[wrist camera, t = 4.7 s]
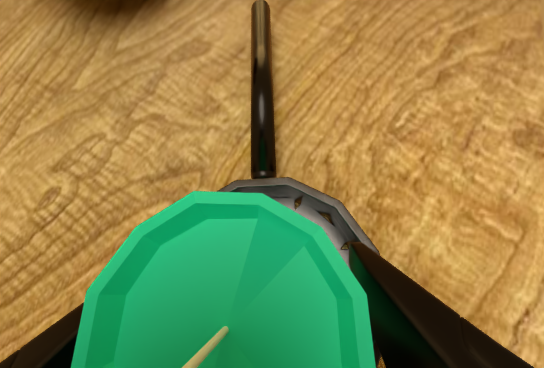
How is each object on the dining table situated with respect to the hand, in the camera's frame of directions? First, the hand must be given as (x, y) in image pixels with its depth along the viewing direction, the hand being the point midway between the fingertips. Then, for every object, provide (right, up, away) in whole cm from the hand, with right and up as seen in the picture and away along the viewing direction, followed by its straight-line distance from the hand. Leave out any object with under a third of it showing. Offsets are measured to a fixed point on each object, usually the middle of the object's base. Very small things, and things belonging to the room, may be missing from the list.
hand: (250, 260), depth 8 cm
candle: (+1, -3, +6) cm, 7 cm away
